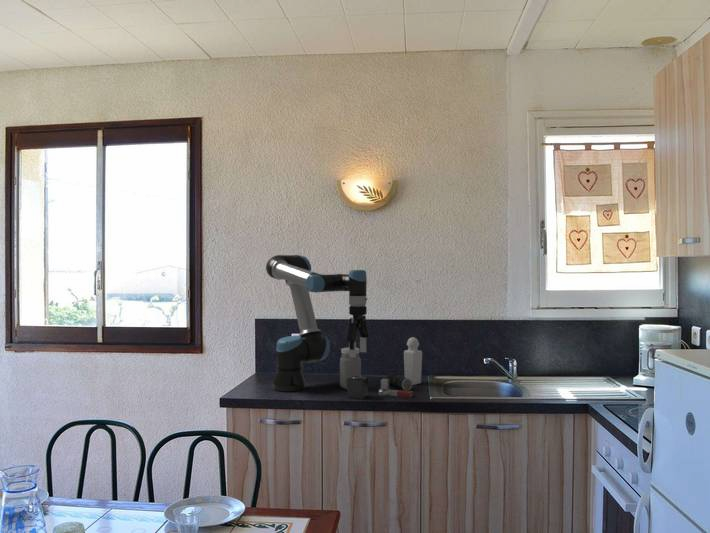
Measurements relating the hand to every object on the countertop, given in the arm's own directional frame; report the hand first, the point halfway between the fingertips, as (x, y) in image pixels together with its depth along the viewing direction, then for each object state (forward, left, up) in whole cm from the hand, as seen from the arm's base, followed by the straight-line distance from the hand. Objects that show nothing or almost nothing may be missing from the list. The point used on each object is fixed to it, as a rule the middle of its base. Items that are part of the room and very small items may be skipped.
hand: (358, 354), depth 234 cm
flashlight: (+12, +24, -19) cm, 32 cm away
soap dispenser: (+16, +34, -18) cm, 42 cm away
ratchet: (+14, +8, -18) cm, 24 cm away
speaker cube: (0, 0, -18) cm, 18 cm away
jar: (-9, +15, -18) cm, 25 cm away
